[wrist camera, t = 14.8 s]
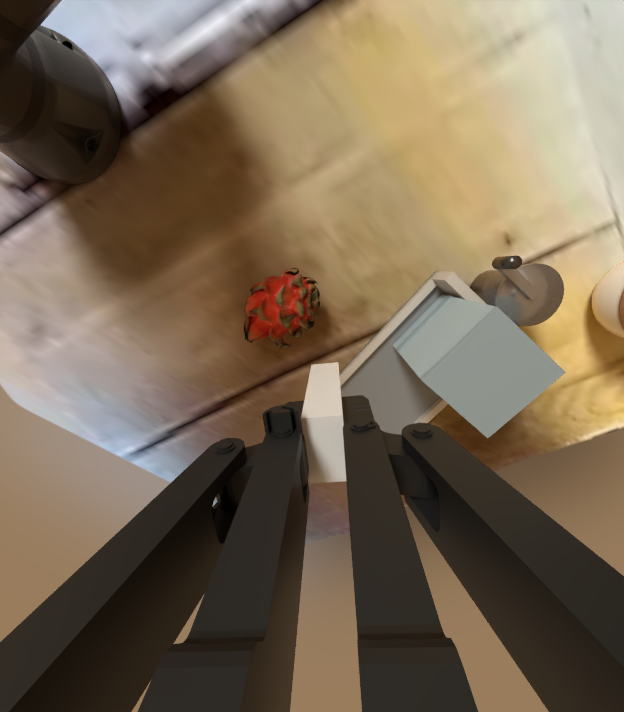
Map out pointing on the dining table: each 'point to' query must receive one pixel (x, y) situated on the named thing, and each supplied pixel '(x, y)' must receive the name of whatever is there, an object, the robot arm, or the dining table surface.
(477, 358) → the grey tall block
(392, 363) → the bay
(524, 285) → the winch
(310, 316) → the dragon fruit
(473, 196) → the dining table surface
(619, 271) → the lidded jar
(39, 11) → the robot arm
